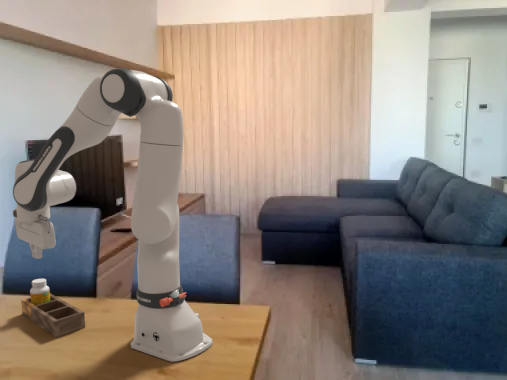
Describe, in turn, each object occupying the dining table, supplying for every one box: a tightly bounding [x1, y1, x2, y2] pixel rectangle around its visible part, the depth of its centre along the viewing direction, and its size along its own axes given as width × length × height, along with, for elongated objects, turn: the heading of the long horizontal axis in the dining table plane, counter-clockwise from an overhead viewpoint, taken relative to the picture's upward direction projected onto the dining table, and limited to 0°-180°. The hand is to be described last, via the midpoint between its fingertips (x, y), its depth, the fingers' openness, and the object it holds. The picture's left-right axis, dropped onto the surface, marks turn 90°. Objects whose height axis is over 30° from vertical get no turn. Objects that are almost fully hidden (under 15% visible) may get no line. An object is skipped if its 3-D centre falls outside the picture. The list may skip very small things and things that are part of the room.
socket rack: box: [20, 293, 86, 338], centre depth 137 cm, size 24×9×5 cm, turn 47°
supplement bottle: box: [29, 278, 51, 305], centre depth 141 cm, size 5×5×10 cm
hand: (37, 257), depth 140 cm, fingers closed
